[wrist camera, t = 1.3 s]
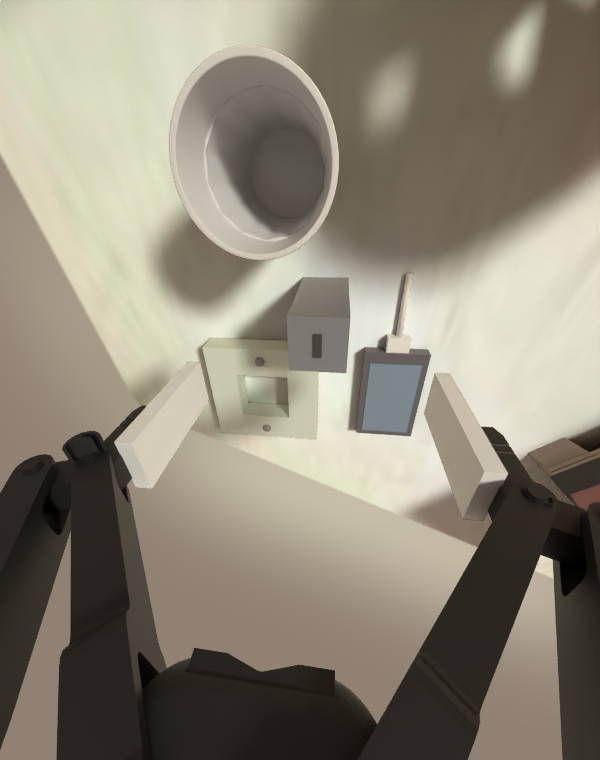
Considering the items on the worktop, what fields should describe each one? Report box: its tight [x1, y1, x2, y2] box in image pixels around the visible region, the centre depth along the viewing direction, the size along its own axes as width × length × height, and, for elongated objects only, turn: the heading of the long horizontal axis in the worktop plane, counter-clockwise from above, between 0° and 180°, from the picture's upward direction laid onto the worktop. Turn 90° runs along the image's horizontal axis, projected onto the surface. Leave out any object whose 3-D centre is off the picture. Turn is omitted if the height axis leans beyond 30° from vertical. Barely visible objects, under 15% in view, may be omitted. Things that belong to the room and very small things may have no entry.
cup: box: [169, 45, 339, 260], centre depth 19 cm, size 8×8×12 cm
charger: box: [286, 277, 350, 373], centre depth 25 cm, size 4×4×10 cm
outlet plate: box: [202, 338, 319, 440], centre depth 34 cm, size 12×12×3 cm
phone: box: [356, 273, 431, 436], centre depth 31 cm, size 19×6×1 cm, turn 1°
